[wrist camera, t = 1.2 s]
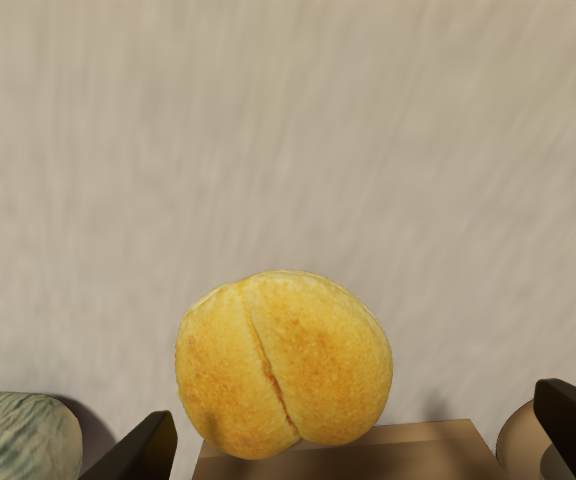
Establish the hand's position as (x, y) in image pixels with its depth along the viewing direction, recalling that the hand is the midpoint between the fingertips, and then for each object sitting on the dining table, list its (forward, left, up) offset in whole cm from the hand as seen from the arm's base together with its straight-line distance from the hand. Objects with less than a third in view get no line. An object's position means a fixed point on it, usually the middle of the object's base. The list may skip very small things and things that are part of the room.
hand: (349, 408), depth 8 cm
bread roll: (0, 0, -7) cm, 7 cm away
